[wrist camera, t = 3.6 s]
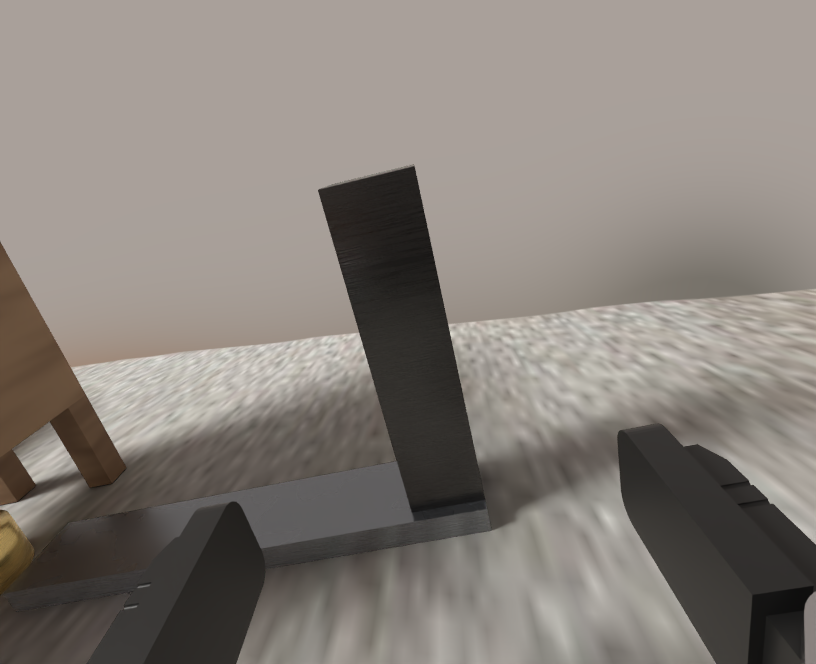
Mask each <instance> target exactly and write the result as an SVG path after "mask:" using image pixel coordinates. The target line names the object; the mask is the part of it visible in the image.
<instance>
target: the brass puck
mask: <svg viewBox="0 0 816 664" xmlns="http://www.w3.org/2000/svg"><path fill="white" fill-rule="evenodd" d="M33 557H34V548H33V546H32V545H31V544H30V542H29V541H28V539H27V538H26V536H25V535H24V534H23V532H22V531H21V529H20V528H19V526H18V525H17V524H16V522H15V521H14V519H13V518H12V517H11V515H10V514H9V513H8V512H7V511H5V510H0V595H1V594H2V593H3V592H5V591H6V590H7V588H8V587H9V586H10V585H11V584H12V583H13V582H14V581H15V580H16V579H17V578H18V577H19V576H20V574H21V573H22V572H23V571H24V570H25V569H26V568H27V567H28V566H29V565H30V563H31V561H32V559H33Z"/></svg>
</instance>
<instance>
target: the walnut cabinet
mask: <svg viewBox="0 0 816 664" xmlns="http://www.w3.org/2000/svg"><path fill="white" fill-rule="evenodd" d="M49 421H50V423H51V424H52V426H53V428H54V429H55V431H56V433H57V434H58V436H59V438H60V439H61V441H62V443H63V444H64V446H65V447H66V449H67V451H68V452H69V454H70V456H71V457H72V459H73V461H74V462H75V464H76V466H77V467H78V469H79V471H80V472H81V474H82V475H83V477H84V479H85V480H86V482H87V484H88V485H89V487H90V488H91V487H96V486H101V485H107V484H112V483H113V482H114V481H115V480H116V479H117V478H118V476H119V475H120V474H121V473H122V472H123V471H124V470H125V469H126V466H125V464H124V462H123V460H122V459H121V457H120V455H119V453H118V452H117V450H116V448H115V446H114V444H113V443H112V441H111V439H110V437H109V435H108V434H107V432H106V430H105V428H104V426H103V425H102V423H101V421H100V419H99V418H98V416H97V414H96V412H95V410H94V409H93V407H92V405H91V403H90V401H89V400H88V398H87V396H86V394H85V392H84V391H83V389H82V387H81V385H80V384H79V382H78V380H77V378H76V376H75V375H74V373H73V371H72V369H71V367H70V366H69V364H68V362H67V360H66V359H65V357H64V355H63V353H62V351H61V350H60V348H59V346H58V344H57V343H56V341H55V339H54V337H53V335H52V334H51V332H50V330H49V328H48V327H47V325H46V323H45V321H44V319H43V318H42V316H41V314H40V312H39V310H38V309H37V307H36V305H35V303H34V301H33V300H32V298H31V296H30V294H29V292H28V291H27V289H26V287H25V285H24V283H23V282H22V280H21V278H20V276H19V274H18V273H17V271H16V269H15V267H14V266H13V264H12V262H11V260H10V258H9V257H8V255H7V253H6V251H5V249H4V248H3V246H2V244H1V242H0V505H3V504H8V503H13V502H18V501H19V500H20V499H21V498H22V497H23V496H25V495H26V494H27V493H28V492H29V491H30V490H31V489H33V488H34V487H35V486H36V484H35V483H34V481H33V480H32V478H31V477H30V475H29V474H28V472H27V471H26V469H25V468H24V466H23V465H22V463H21V462H20V460H19V459H18V457H17V456H16V454H15V453H14V451H13V450H12V448H14V447H15V446H16V445H18V444H19V443H21V442H22V441H23V440H25V439H26V438H27V437H29V436H30V435H32V434H33V433H34V432H36V431H37V430H38V429H40V428H41V427H42V426H44V425H45V424H47V423H48V422H49Z"/></svg>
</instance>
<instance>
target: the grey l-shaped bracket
mask: <svg viewBox="0 0 816 664" xmlns="http://www.w3.org/2000/svg"><path fill="white" fill-rule="evenodd" d="M318 192H319V195H320V199H321V202H322V206H323V209H324V212H325V216H326V220H327V223H328V226H329V230H330V233H331V237H332V240H333V244H334V247H335V250H336V254H337V257H338V261H339V264H340V268H341V271H342V275H343V278H344V281H345V284H346V288H347V292H348V295H349V299H350V302H351V305H352V309H353V312H354V315H355V319H356V323H357V326H358V329H359V333H360V337H361V340H362V343H363V347H364V350H365V354H366V357H367V361H368V364H369V367H370V371H371V374H372V378H373V381H374V385H375V388H376V392H377V395H378V398H379V402H380V405H381V409H382V412H383V416H384V419H385V423H386V426H387V429H388V433H389V436H390V440H391V443H392V447H393V450H394V453H395V457H396V460H397V461H395V462H390V463H384V464H379V465H374V466H368V467H363V468H358V469H353V470H347V471H342V472H337V473H331V474H326V475H321V476H315V477H310V478H305V479H299V480H294V481H289V482H283V483H278V484H273V485H267V486H262V487H257V488H251V489H246V490H241V491H235V492H230V493H225V494H219V495H214V496H209V497H203V498H198V499H193V500H187V501H182V502H177V503H172V504H166V505H161V506H156V507H150V508H145V509H140V510H134V511H129V512H124V513H118V514H113V515H108V516H102V517H97V518H92V519H86V520H81V521H76V522H70V523H68V524H67V525H66V526H65V527H64V528H63V529H62V531H61V532H60V533H59V534H58V535H57V536H56V537H55V538H54V539H53V540H52V541H51V542H50V543H49V544H48V546H47V547H46V548H45V549H44V550H43V551H42V552H41V553H40V554H39V555H38V556H37V557H36V558H35V559H34V561H33V562H32V563H31V564H30V565H29V566H28V567H27V568H26V569H25V570H24V571H23V572H22V573H21V574H20V576H19V577H18V578H17V579H16V580H15V581H14V582H13V583H12V584H11V585H10V586H9V587H8V588H7V590H6V591H5V592H4V593H3V595H4V596H5V598H6V599H7V600H8V602H9V603H10V604H11V605H12V607H13V608H14V609H15V611H16V612H17V611H23V610H29V609H35V608H41V607H47V606H52V605H58V604H64V603H70V602H76V601H82V600H88V599H93V598H99V597H105V596H111V595H117V594H123V593H129V592H133V590H134V589H137V587H138V585H137V584H138V582H139V581H140V579H141V578H142V576H143V575H144V573H145V571H146V570H147V568H148V567H149V565H150V564H151V562H152V560H153V559H154V558H155V557H156V556H157V555H158V554H159V553H160V552H161V551H162V550H163V549H164V548H165V547H166V546H167V545H168V544H169V543H170V542H171V541H172V540H173V539H174V538H175V537H179V536H180V535H181V533H182V531H183V530H184V528H185V526H186V525H187V523H188V522H189V520H190V518H191V517H192V515H193V513H194V512H195V511H196V510H197V509H198V508H200V507H205V506H210V505H216V504H221V503H227V502H232V501H235V502H237V503H239V504H240V506H241V507H242V509H243V511H244V513H245V515H246V518H247V520H248V522H249V524H250V526H251V528H252V531H253V533H254V535H255V537H256V539H257V541H258V544H259V546H260V548H261V550H262V552H263V556H264V560H265V569H269V568H275V567H281V566H287V565H293V564H299V563H305V562H310V561H316V560H322V559H328V558H334V557H340V556H346V555H351V554H357V553H363V552H369V551H375V550H381V549H387V548H393V547H398V546H404V545H410V544H416V543H422V542H428V541H434V540H439V539H445V538H451V537H457V536H463V535H469V534H475V533H480V532H486V531H492V529H491V525H490V520H489V515H488V511H487V506H486V501H485V497H484V492H483V487H482V483H481V478H480V473H479V468H478V464H477V459H476V454H475V449H474V445H473V440H472V435H471V431H470V426H469V421H468V416H467V412H466V407H465V402H464V398H463V393H462V388H461V383H460V379H459V374H458V369H457V364H456V360H455V355H454V350H453V346H452V341H451V336H450V331H449V327H448V322H447V318H446V313H445V308H444V303H443V298H442V294H441V289H440V284H439V280H438V275H437V270H436V265H435V261H434V256H433V251H432V247H431V242H430V237H429V232H428V228H427V223H426V218H425V214H424V209H423V204H422V199H421V195H420V190H419V185H418V180H417V176H416V171H415V167H414V164H413V165H409V166H405V167H401V168H397V169H393V170H389V171H384V172H381V173H376V174H372V175H368V176H364V177H360V178H356V179H352V180H348V181H344V182H340V183H336V184H332V185H330V186H327V187H324V188H321V189H319V190H318Z"/></svg>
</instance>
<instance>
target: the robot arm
mask: <svg viewBox="0 0 816 664" xmlns="http://www.w3.org/2000/svg"><path fill="white" fill-rule="evenodd" d="M618 454H619V468H620V482H621V493H622V498H623V502H624V506H625V509H626V511H627V514H628V516H629V519H630V521H631V523H632V525H633V526H634V528H635V530H636V531H637V533H638V535H639V536H640V538H641V540H642V541H643V543H644V545H645V546H646V548H647V549H648V551H649V553H650V554H651V556H652V558H653V559H654V561H655V563H656V564H657V566H658V568H659V569H660V571H661V573H662V574H663V576H664V578H665V579H666V581H667V583H668V584H669V586H670V588H671V589H672V591H673V593H674V594H675V596H676V598H677V599H678V601H679V603H680V604H681V606H682V607H683V609H684V611H685V612H686V614H687V616H688V617H689V619H690V621H691V622H692V624H693V626H694V627H695V629H696V631H697V632H698V634H699V636H700V637H701V639H702V641H703V642H704V644H705V646H706V647H707V649H708V651H709V652H710V654H711V656H712V657H713V659H714V660H715V662H716V664H816V545H815V544H814V543H813V542H812V541H811V540H810V539H809V538H808V537H807V536H806V535H805V534H804V533H803V532H802V531H801V530H800V529H799V528H798V527H797V526H796V525H795V524H794V523H793V522H791V521H790V520H789V519H788V518H787V517H786V516H785V515H784V514H783V513H782V512H781V511H780V510H779V509H778V508H777V507H776V506H775V505H774V504H770V503H769V501H768V499H767V498H766V497H765V496H764V495H763V494H762V493H761V492H760V491H759V490H758V489H757V488H756V487H755V486H754V485H750V483H749V480H748V479H747V478H746V477H745V476H743V475H742V474H741V473H740V472H739V471H738V470H737V469H736V468H735V467H734V466H733V465H732V464H731V463H730V462H729V461H728V460H727V459H725V458H723V457H721V456H719V455H717V454H715V453H713V452H711V451H709V450H707V449H705V448H703V447H702V446H700V445H698V444H697V445H691V446H686V447H683V446H682V445H681V444H680V443H679V442H678V440H677V439H676V438H675V437H674V436H673V435H672V434H671V433H670V432H669V431H668V430H667V429H666V428H665V427H664V426H663V425H661V424H653V425H647V426H642V427H637V428H631V429H626V430H620V431H619V433H618ZM264 578H265V560H264V556H263V552H262V550H261V548H260V546H259V544H258V541H257V539H256V537H255V535H254V533H253V531H252V528H251V526H250V524H249V522H248V520H247V518H246V515H245V513H244V511H243V509H242V507H241V506H240V504H239V503H237V502H235V501H232V502H227V503H221V504H216V505H210V506H205V507H200V508H198V509H197V510H196V511H195V512H194V513H193V515H192V517H191V518H190V520H189V522H188V523H187V525H186V526H185V528H184V530H183V531H182V533H181V535H180V536H179V537H175V538H174V539H173V540H172V541H171V542H170V543H169V544H168V545H167V546H166V547H165V548H164V549H163V550H162V551H161V552H160V553H159V554H158V555H157V556H156V557H155V558H154V559H153V560H152V562H151V564H150V565H149V567H148V568H147V570H146V571H145V573H144V575H143V576H142V578H141V579H140V581H139V582H138V584H137V585H138V587H137V589H134V590H133V592H132V593H131V595H130V597H129V598H128V600H127V601H126V603H125V604H124V610H123V611H120V612H119V614H118V615H117V617H116V619H115V620H114V622H113V623H112V625H111V626H110V628H109V630H108V631H107V633H106V634H105V636H104V637H103V639H102V641H101V642H100V644H99V645H98V647H97V648H96V650H95V652H94V653H93V655H92V656H91V658H90V659H89V661H88V663H87V664H236V663H237V660H238V657H239V654H240V651H241V648H242V645H243V642H244V639H245V636H246V633H247V630H248V628H249V625H250V622H251V619H252V616H253V613H254V610H255V607H256V604H257V601H258V598H259V595H260V593H261V590H262V587H263V583H264Z"/></svg>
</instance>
